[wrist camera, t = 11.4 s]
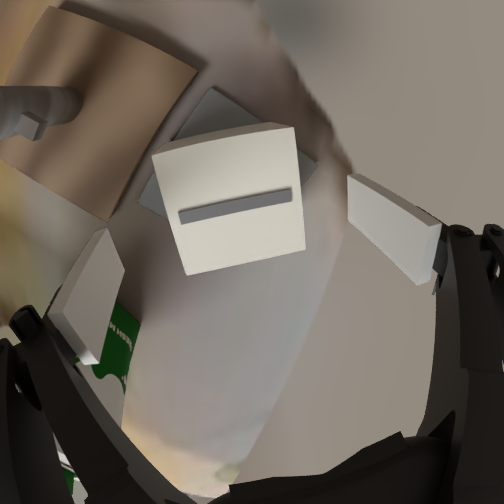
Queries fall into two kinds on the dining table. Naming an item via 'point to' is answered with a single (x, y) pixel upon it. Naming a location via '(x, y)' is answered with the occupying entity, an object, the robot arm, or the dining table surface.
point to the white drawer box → (232, 195)
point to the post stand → (86, 107)
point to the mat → (209, 120)
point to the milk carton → (108, 373)
